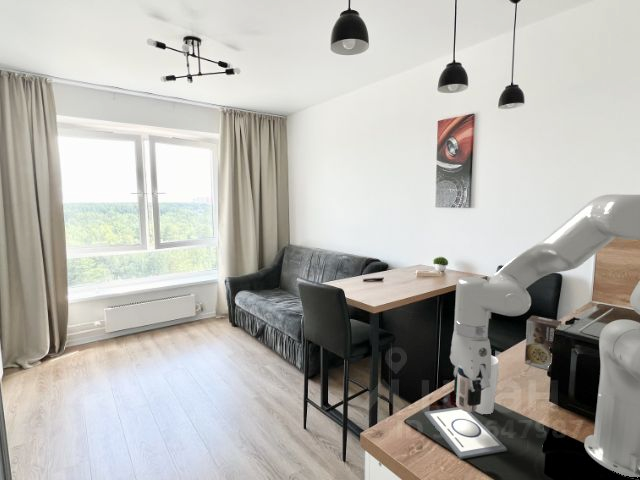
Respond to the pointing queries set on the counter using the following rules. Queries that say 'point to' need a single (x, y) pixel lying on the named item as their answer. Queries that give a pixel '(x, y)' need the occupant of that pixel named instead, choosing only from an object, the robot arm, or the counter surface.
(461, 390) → the beer can
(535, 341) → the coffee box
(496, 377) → the drinking glass
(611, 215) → the robot arm
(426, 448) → the counter surface
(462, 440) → the tablet
